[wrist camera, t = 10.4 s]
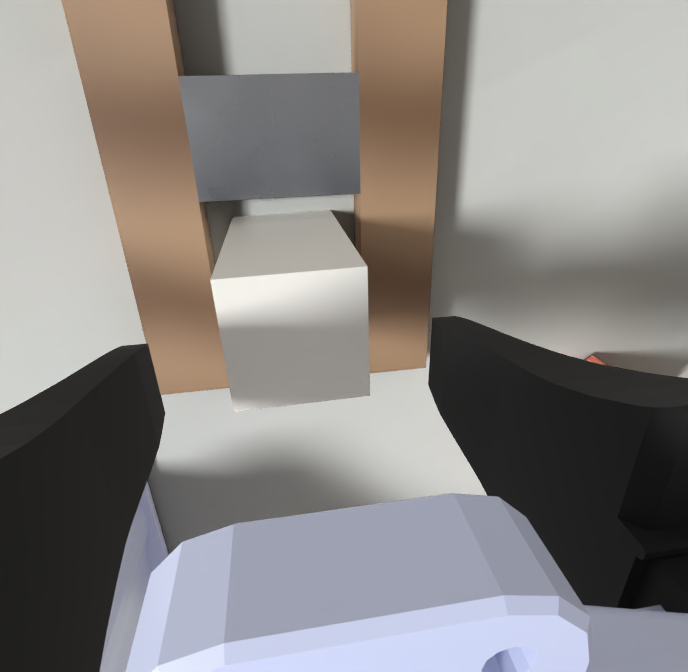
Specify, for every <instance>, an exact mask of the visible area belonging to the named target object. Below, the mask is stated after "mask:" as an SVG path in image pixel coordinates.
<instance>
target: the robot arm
mask: <svg viewBox="0 0 688 672" xmlns="http://www.w3.org/2000/svg"><path fill="white" fill-rule="evenodd" d="M428 385H429V388H430V390H431V393H432V395H433V398H434V401H435V403H436V405H437V408H438V410H439V412H440V415H441V416H442V418H443V420H444V422H445V423H446V425H447V427H448V428H449V430H450V432H451V434H452V435H453V437H454V439H455V440H456V442H457V444H458V445H459V447H460V449H461V450H462V452H463V454H464V455H465V457H466V458H467V460H468V462H469V463H470V465H471V467H472V468H473V470H474V472H475V473H476V475H477V477H478V479H479V480H480V482H481V484H482V486H483V488H484V490H485V492H486V494H487V496H482V495H468V494H454V493H452V494H442V495H435V496H428V497H421V498H414V499H407V500H399V501H392V502H385V503H378V504H371V505H364V506H357V507H349V508H342V509H335V510H328V511H321V512H314V513H307V514H299V515H292V516H285V517H278V518H271V519H264V520H257V521H249V522H242V523H236V524H233V525H230V526H227V527H224V528H221V529H218V530H215V531H212V532H209V533H206V534H203V535H200V536H197V537H194V538H192V539H189V540H186V541H183V542H182V543H181V544H180V545H179V546H178V547H177V548H176V549H175V550H174V551H173V552H172V553H171V554H170V555H169V554H168V551H167V547H166V544H165V540H164V537H163V533H162V530H161V526H160V523H159V520H158V516H157V513H156V509H155V506H154V502H153V499H152V495H151V492H150V489H149V485H148V482H147V480H148V477H149V475H150V472H151V469H152V466H153V463H154V460H155V457H156V454H157V451H158V448H159V444H160V439H161V434H162V429H163V423H164V417H165V411H164V407H163V402H162V398H161V394H160V390H159V386H158V382H157V378H156V374H155V370H154V366H153V362H152V358H151V353H150V349H149V345H148V344H139V345H128V346H121V347H118V348H116V349H114V350H112V351H110V352H108V353H106V354H105V355H103V356H101V357H100V358H98V359H96V360H95V361H93V362H91V363H90V364H88V365H86V366H85V367H83V368H81V369H80V370H78V371H77V372H75V373H73V374H72V375H70V376H68V377H67V378H65V379H63V380H62V381H60V382H58V383H57V384H55V385H53V386H51V387H50V388H48V389H46V390H44V391H43V392H41V393H39V394H37V395H35V396H34V397H32V398H30V399H28V400H27V401H25V402H23V403H21V404H19V405H17V406H15V407H14V408H12V409H10V410H8V411H6V412H4V413H2V414H0V672H688V378H681V377H672V376H665V375H658V374H651V373H644V372H639V371H633V370H628V369H622V368H617V367H612V366H607V365H602V364H598V363H594V362H590V361H586V360H582V359H578V358H575V357H571V356H567V355H564V354H560V353H557V352H554V351H551V350H548V349H545V348H542V347H539V346H536V345H533V344H530V343H527V342H525V341H522V340H519V339H517V338H514V337H512V336H509V335H506V334H504V333H501V332H499V331H496V330H494V329H491V328H489V327H486V326H484V325H481V324H479V323H476V322H473V321H471V320H468V319H465V318H461V317H457V316H450V317H439V318H432V334H431V350H430V366H429V382H428Z"/></svg>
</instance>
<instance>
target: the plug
mask: <svg viewBox="0 0 688 672" xmlns="http://www.w3.org/2000/svg"><path fill="white" fill-rule="evenodd" d="M210 282H211V287H212V293H213V298H214V304H215V309H216V315H217V320H218V326H219V331H220V337H221V343H222V348H223V354H224V359H225V365H226V370H227V376H228V381H229V387H230V392H231V398H232V403H233V409H234V412H236V411H244V410H253V409H261V408H270V407H278V406H286V405H295V404H303V403H311V402H320V401H328V400H336V399H345V398H353V397H362V396H370V369H369V319H368V268H367V265H366V263H365V262H364V260H363V259H362V257H361V256H360V254H359V253H358V251H357V250H356V248H355V247H354V245H353V244H352V242H351V241H350V239H349V238H348V236H347V235H346V233H345V232H344V230H343V229H342V227H341V226H340V224H339V223H338V221H337V220H336V218H335V216H334V215H333V213H332V212H331V210H324V211H310V212H296V213H282V214H268V215H254V216H240V217H233V218H232V221H231V223H230V226H229V229H228V232H227V235H226V237H225V240H224V243H223V246H222V248H221V251H220V254H219V257H218V260H217V262H216V265H215V268H214V271H213V274H212V276H211V279H210Z"/></svg>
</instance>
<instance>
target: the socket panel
mask: <svg viewBox="0 0 688 672" xmlns="http://www.w3.org/2000/svg"><path fill="white" fill-rule="evenodd" d="M62 4H63V8H64V12H65V16H66V20H67V24H68V28H69V32H70V36H71V40H72V44H73V48H74V52H75V57H76V61H77V65H78V69H79V73H80V77H81V81H82V85H83V89H84V93H85V97H86V101H87V105H88V109H89V113H90V117H91V121H92V125H93V129H94V133H95V137H96V141H97V145H98V150H99V154H100V158H101V162H102V166H103V170H104V174H105V178H106V182H107V186H108V190H109V194H110V198H111V202H112V206H113V210H114V214H115V218H116V222H117V226H118V230H119V234H120V238H121V243H122V247H123V251H124V255H125V259H126V263H127V267H128V271H129V275H130V279H131V283H132V287H133V291H134V295H135V299H136V303H137V307H138V311H139V315H140V319H141V323H142V327H143V331H144V336H145V340H146V344H148V345H149V349H150V353H151V358H152V362H153V366H154V370H155V374H156V378H157V382H158V386H159V390H160V394H161V395H164V394H173V393H183V392H193V391H203V390H212V389H222V388H230V387H229V381H228V376H227V370H226V365H225V359H224V354H223V348H222V343H221V337H220V331H219V326H218V320H217V315H216V309H215V304H214V298H213V293H212V287H211V282H210V279H211V276H212V274H213V271H214V268H215V261H214V255H213V249H212V242H211V236H210V230H209V223H208V217H207V211H206V205H205V202H210V201H229V200H247V199H266V198H285V197H303V196H322V195H341V194H354V219H355V248H356V250H357V251H358V253H359V254H360V256H361V257H362V259H363V260H364V262H365V263H366V265H367V268H368V319H369V369H370V373H378V372H387V371H397V370H407V369H417V368H426V358H427V341H428V324H429V307H430V290H431V273H432V256H433V238H434V221H435V204H436V187H437V170H438V153H439V136H440V119H441V102H442V85H443V68H444V51H445V34H446V17H447V0H351V54H352V73H308V74H259V75H211V76H185V72H184V66H183V60H182V54H181V47H180V41H179V35H178V28H177V22H176V16H175V10H174V3H173V0H62Z"/></svg>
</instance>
